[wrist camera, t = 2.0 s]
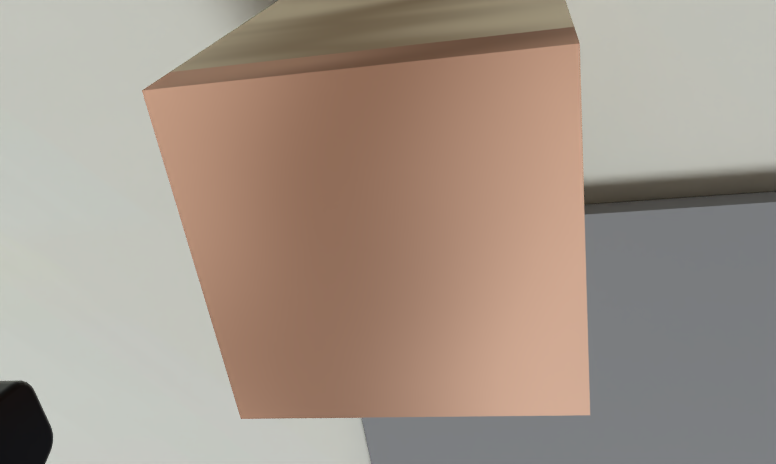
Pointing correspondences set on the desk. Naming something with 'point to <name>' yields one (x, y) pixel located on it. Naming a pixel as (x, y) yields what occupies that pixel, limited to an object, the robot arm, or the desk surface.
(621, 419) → the rubber mat
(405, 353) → the tall block
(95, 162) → the desk surface
